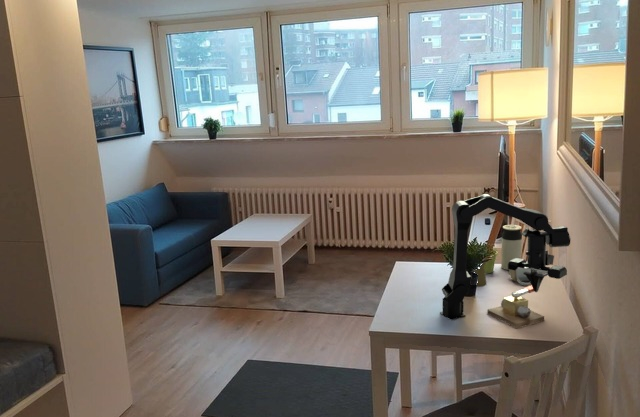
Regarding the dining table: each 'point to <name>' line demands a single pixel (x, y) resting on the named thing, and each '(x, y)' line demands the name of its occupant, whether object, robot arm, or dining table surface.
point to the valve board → (515, 321)
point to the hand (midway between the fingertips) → (536, 292)
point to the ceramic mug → (519, 276)
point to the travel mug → (511, 244)
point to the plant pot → (490, 264)
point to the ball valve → (516, 306)
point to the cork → (481, 275)
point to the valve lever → (523, 292)
